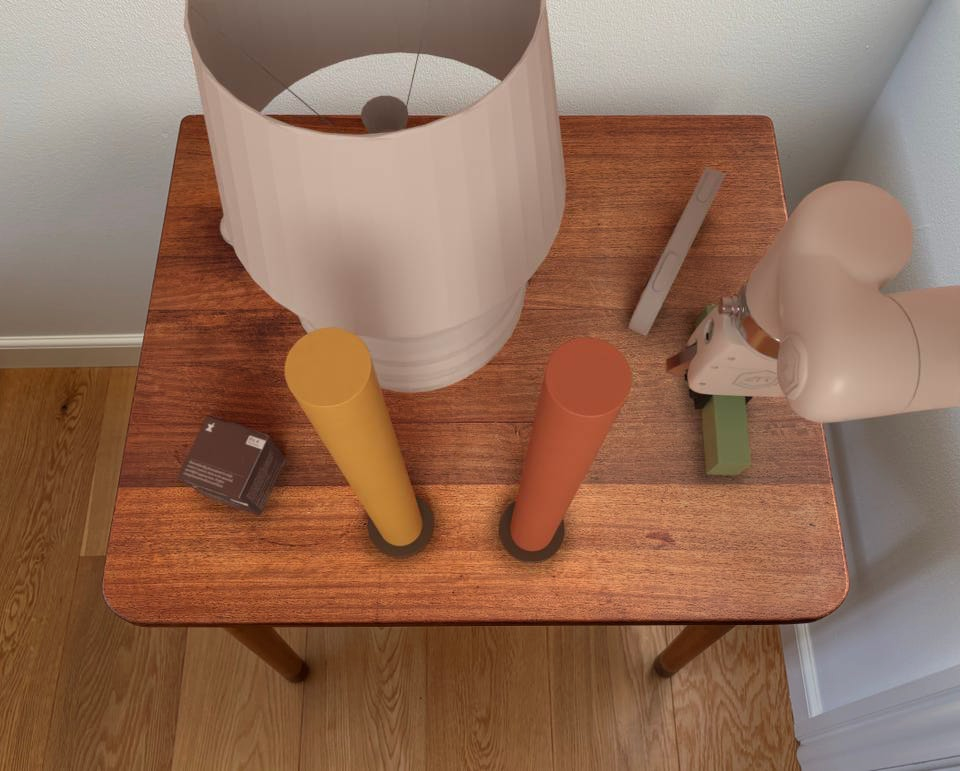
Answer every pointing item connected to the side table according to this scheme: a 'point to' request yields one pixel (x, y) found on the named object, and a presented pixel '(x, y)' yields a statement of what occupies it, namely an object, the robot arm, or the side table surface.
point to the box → (233, 465)
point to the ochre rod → (359, 435)
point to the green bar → (725, 430)
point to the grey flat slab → (675, 252)
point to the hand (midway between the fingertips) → (716, 395)
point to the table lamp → (388, 175)
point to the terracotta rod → (563, 443)
